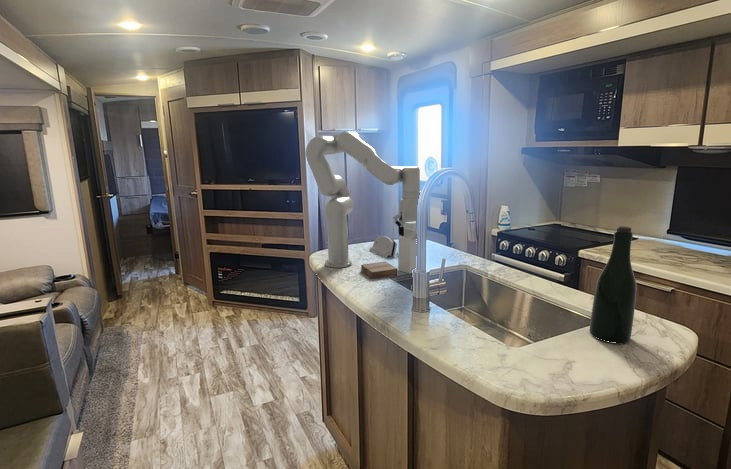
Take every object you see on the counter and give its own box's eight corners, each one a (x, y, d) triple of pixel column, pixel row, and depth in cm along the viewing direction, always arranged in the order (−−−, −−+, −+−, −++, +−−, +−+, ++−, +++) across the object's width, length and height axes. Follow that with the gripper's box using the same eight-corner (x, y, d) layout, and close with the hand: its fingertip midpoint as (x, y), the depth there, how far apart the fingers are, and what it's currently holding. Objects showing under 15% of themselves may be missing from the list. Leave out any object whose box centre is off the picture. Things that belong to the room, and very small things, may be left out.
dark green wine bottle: (632, 335, 119) (649, 226, 112) (627, 349, 111) (644, 232, 104) (593, 325, 126) (606, 221, 118) (585, 337, 118) (598, 227, 111)
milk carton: (409, 274, 176) (410, 231, 172) (398, 270, 181) (398, 229, 177) (420, 270, 181) (421, 229, 177) (408, 267, 186) (409, 226, 182)
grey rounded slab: (369, 250, 215) (374, 232, 215) (376, 252, 218) (381, 234, 217) (386, 257, 201) (392, 238, 201) (393, 259, 204) (399, 240, 203)
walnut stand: (361, 271, 181) (361, 264, 180) (385, 267, 185) (385, 261, 185) (372, 279, 170) (372, 272, 169) (397, 275, 174) (397, 268, 174)
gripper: (423, 193, 180) (423, 230, 184) (389, 196, 174) (389, 234, 177) (432, 194, 173) (432, 233, 177) (397, 198, 167) (397, 238, 171)
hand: (411, 234), depth 177 cm, fingers open, 9 cm apart
